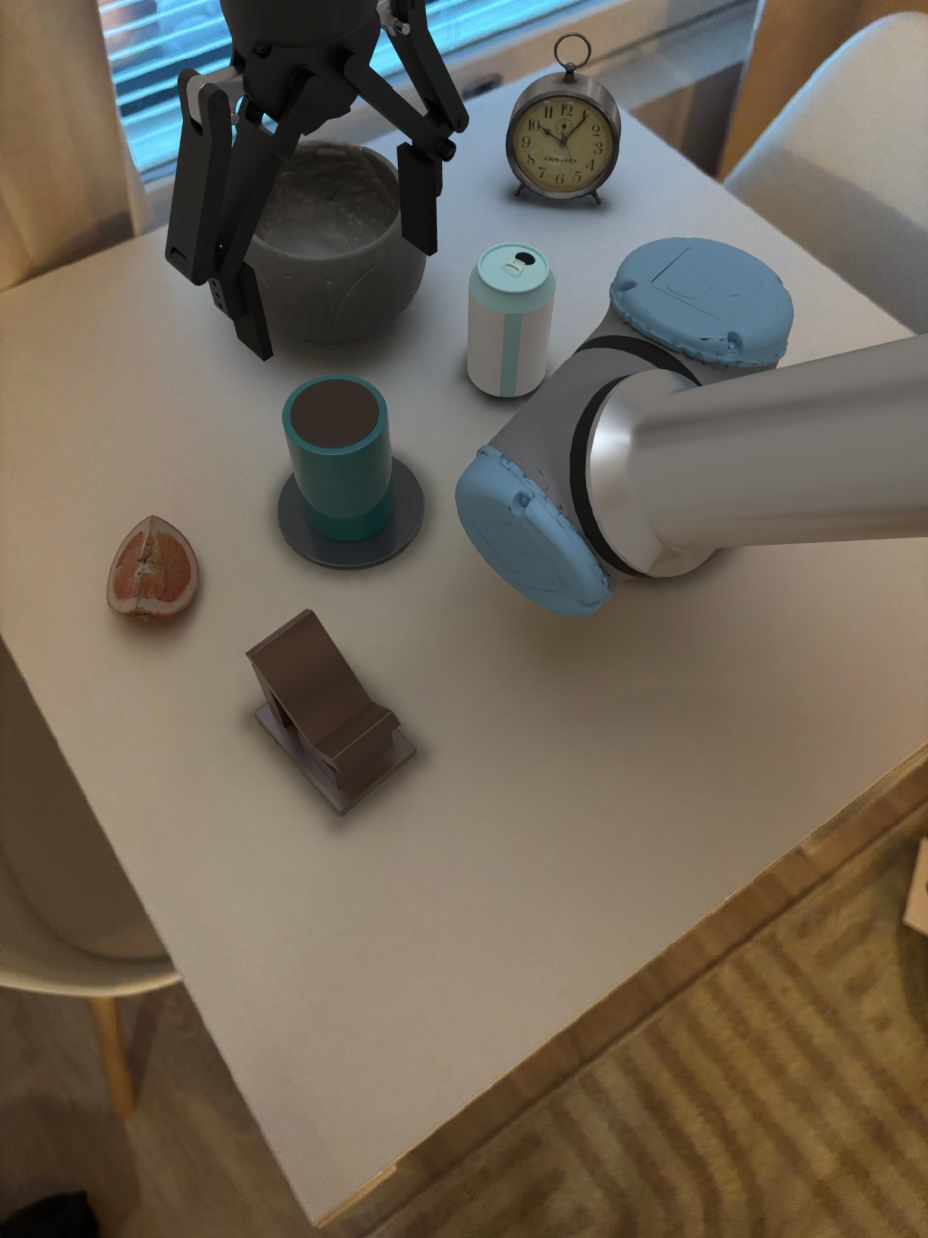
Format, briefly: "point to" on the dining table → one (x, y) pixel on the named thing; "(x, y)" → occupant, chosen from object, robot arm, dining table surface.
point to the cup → (341, 455)
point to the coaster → (361, 551)
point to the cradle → (325, 713)
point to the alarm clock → (564, 134)
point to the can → (509, 319)
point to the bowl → (333, 246)
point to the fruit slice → (152, 572)
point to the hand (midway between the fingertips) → (341, 294)
